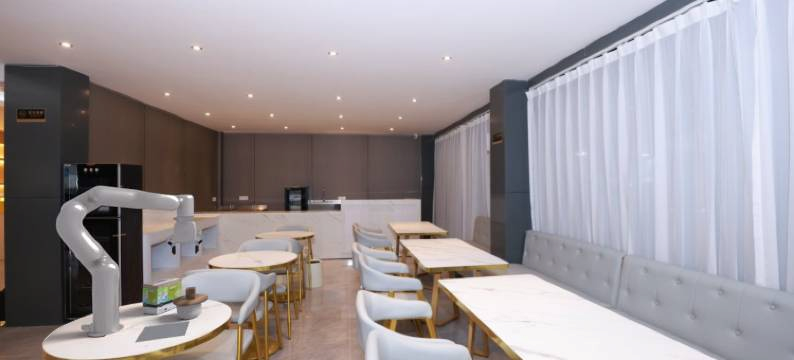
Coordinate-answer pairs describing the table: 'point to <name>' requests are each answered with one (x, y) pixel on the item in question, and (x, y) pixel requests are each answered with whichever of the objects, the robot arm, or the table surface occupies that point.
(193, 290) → the walnut lid
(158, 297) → the tea box
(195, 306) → the teacup
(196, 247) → the robot arm
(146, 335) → the slate mat
